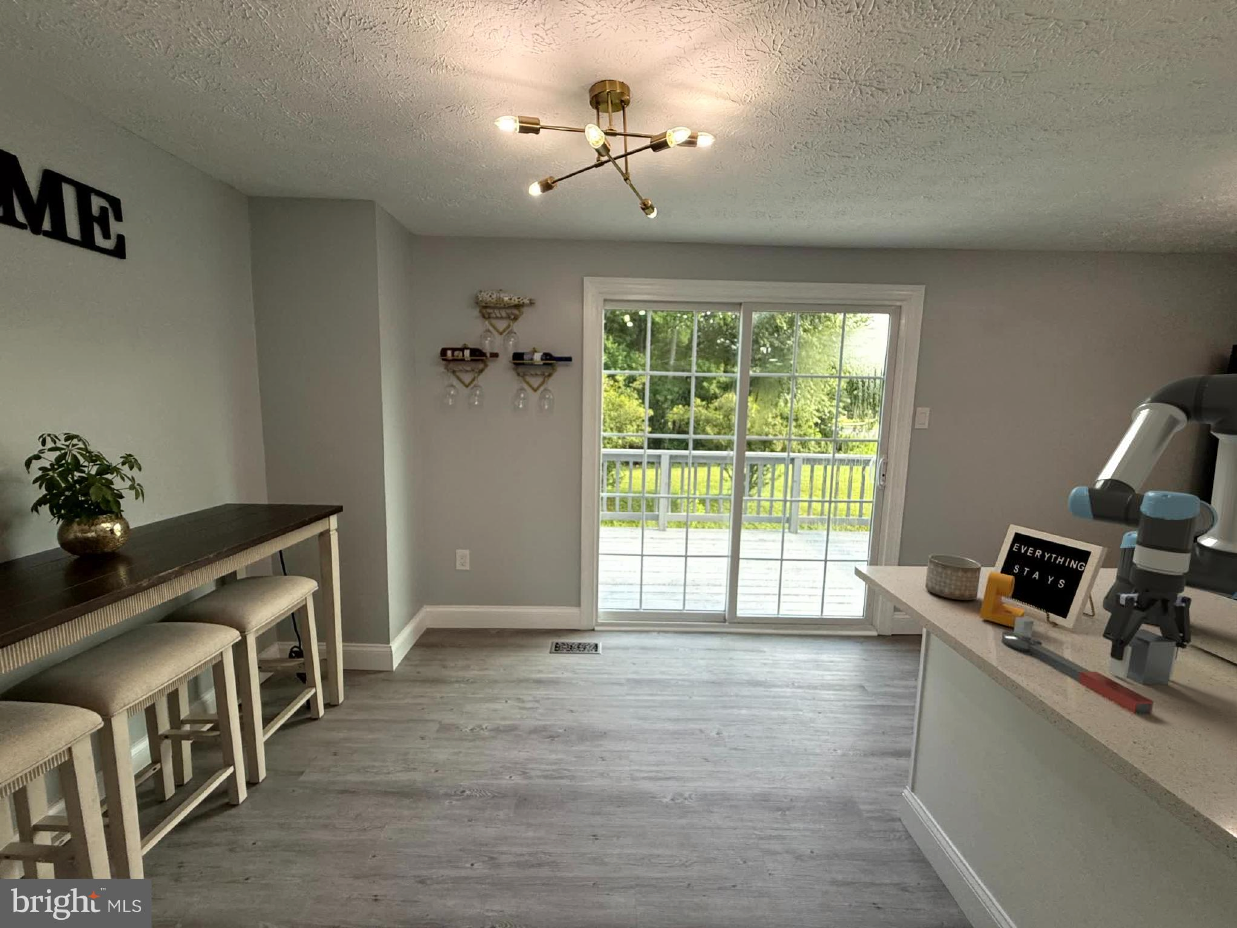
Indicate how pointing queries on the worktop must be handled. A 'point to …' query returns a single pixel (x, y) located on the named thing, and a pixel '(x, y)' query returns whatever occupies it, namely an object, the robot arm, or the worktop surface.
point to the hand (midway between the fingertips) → (1140, 674)
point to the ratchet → (1074, 669)
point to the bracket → (999, 600)
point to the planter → (953, 576)
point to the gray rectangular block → (1150, 658)
